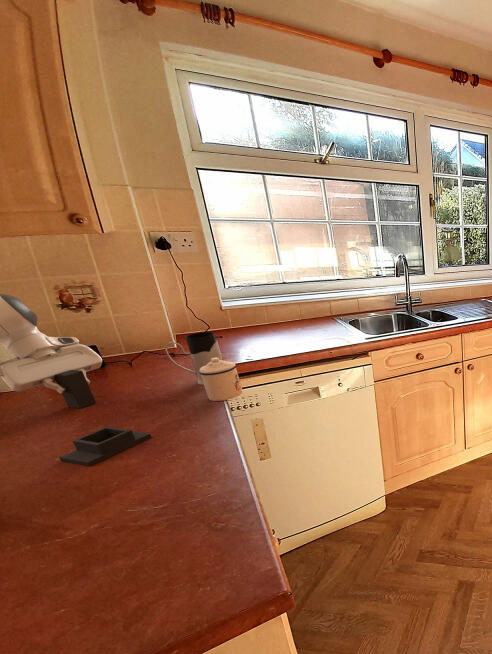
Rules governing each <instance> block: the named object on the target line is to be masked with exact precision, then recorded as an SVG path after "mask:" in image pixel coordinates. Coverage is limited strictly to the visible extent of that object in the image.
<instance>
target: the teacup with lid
mask: <svg viewBox="0 0 492 654" xmlns="http://www.w3.org/2000/svg"><path fill="white" fill-rule="evenodd" d="M199 373H200V374H201V377H202V380H203V383H204V385H203V386H204V389H205V393H206V395H207V398H208V399H209V401H213V402H223V401H227V400H231V399H234V398H237V397H239V396H241V395H242V394H243V392H244V390H243V387H242V383H241V379H240V377H239V373H238V370H237V364H236V363H235V362H234V361H227V360H220V359H219V358H212V359H211V362H210V363H208V364H207V365H205V366H203V367H202V368H200V370H199Z"/></svg>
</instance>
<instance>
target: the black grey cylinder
mask: <svg viewBox="0 0 492 654" xmlns="http://www.w3.org/2000/svg"><path fill="white" fill-rule="evenodd" d="M185 341H186V344H187V346H188V350H189V352H185V350H184V349H185V348H184V347H183V346H182V345H181V344H180V343H178V342H176V341H171V342H168V343H167V344H165V346H164V351H165V353H166V357H168V359H169V361H171V362H172V364H174V365H175V366H177V367H179V368H181V369H182V370H185V371H187V372H190V373H192V374H194V375H195V377H197V384H198V385H203V386H204V383H203V380H202V377H201V374H200V373H199V370H200V368H202V367H203V366H205V365H207V364H208V363H210V362H211V359H212V358H219V359H220V360H223V356H222V352H221V349H220V345H219V341H218V340H217V338H216V335H215V332H213V331H203V332H202V331H201V332H195V333H191V334H189V335H186V336H185ZM171 344H175V345H177V346H179V347H180V350H181V352H182V353H183V354H184V355H190V358H191V361H192V364H193V367H194V370H192V369H189V368H186V367H184V366H183V365H180V364H179V363H177V362H176V361H175V360H174V359H173V358H172V357H171V356H170V354H169V351H168V346H170V345H171ZM223 361H224V360H223Z"/></svg>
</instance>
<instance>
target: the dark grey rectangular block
mask: <svg viewBox="0 0 492 654" xmlns="http://www.w3.org/2000/svg"><path fill="white" fill-rule="evenodd" d="M54 378H55V380H56V381H55V383H56V384H58V385H62V384H63V385H65V387H67V388H68V390H67V392H65V393H62V394H61V396H62V397H63V399H64V401H65V403H66V405H67V407H68V408H72V409H79V410H80V409H83V408H86V407H90V406H92V405H96V404H97V401H96V399H95V396H94V394H93V392H92V389H91V387H90V385H88V383H87V380H86V378H87V377H86V378H85V376H84V374H83V371H79V370H69V371H66V372H62V373H59V374H55V376H54Z"/></svg>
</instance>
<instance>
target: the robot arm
mask: <svg viewBox="0 0 492 654" xmlns="http://www.w3.org/2000/svg"><path fill="white" fill-rule="evenodd" d="M37 326H38V316H37V314H36V313H35V312H34V311H33V310H31V309H30V308H29V307H27V306H26V305H25V304H24V303H23V302H22V300H21V299H19V298H18V297H17V296H13V295H10V294H5V293H0V345H1V346H3V347H4V348H5V350H6V352H7V353H8V354H9V355H10V356H11V357H12V358H8V359H5V360H0V377H1V379H2V380H3V382H4V383H5V384H6V385H7V387H9V388H10V390H12V391H13V392H19V393H20V392H25V391H27V390H30V389H35V388H38V387H42V386H43V387H45V388H47V389H50V390H54V391H56V392H57V393H58V394H61V395H62V393H65V392H67V390H68V388H67V387H65V385H63V384H62V385H58V384H57V383H56V380H55V378H54V376H55V374H59V373H62V372H66V371H69V370H79V371H83V374H84V376H85V378H86V380H87V383H88V385H89V386H90V384H91V381H90V379H89V378H88V377H87V372H91V371H94V370H98V369H101V366H102V364H103V358H102V357H101V356H100V355H99V354H98V353H97V352H96V351H94V350H93V349H92V348H91V347H89V346H87V345H85V344H83V343H80V340H79V339H78V338H77V337H76V336H48V335H47V334H45V333H43V332H41V331H39V328H38V327H37Z"/></svg>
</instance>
